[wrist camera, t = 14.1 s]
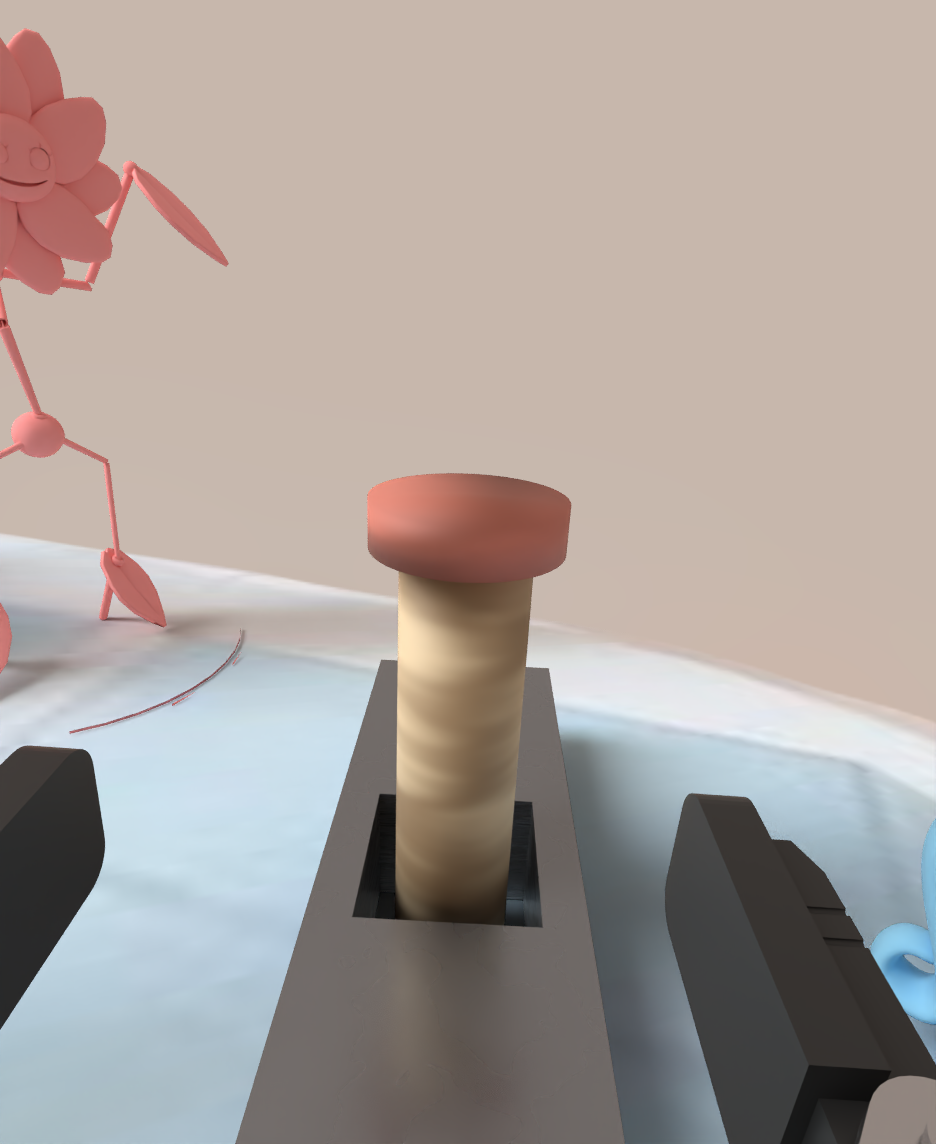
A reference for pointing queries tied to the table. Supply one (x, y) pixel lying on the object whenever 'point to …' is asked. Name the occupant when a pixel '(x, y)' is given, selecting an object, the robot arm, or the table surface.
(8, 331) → the figurine
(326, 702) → the table surface
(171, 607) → the table surface
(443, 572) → the oak pin
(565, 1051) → the bar
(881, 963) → the decorative pot
